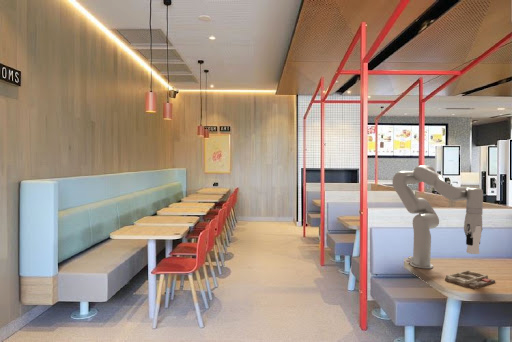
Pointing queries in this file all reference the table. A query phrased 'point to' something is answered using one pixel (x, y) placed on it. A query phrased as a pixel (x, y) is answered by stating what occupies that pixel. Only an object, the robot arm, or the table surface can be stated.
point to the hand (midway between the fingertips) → (473, 244)
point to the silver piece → (475, 241)
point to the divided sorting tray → (469, 279)
